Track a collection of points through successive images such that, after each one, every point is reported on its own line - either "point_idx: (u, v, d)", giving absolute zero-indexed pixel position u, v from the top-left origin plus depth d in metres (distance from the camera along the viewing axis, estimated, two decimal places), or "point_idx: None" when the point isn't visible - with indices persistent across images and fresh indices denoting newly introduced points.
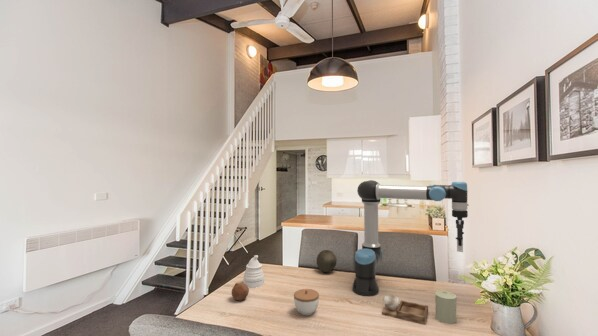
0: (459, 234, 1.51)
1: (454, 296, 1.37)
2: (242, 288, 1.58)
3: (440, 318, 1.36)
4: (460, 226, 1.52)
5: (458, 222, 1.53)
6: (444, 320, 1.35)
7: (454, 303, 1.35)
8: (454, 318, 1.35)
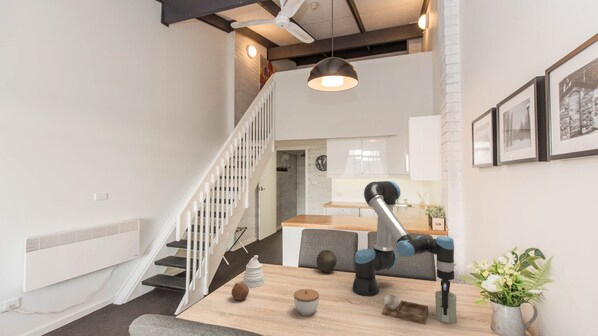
0: (444, 303, 1.32)
1: (454, 296, 1.37)
2: (242, 288, 1.58)
3: (440, 318, 1.36)
4: (445, 293, 1.33)
5: (443, 288, 1.33)
6: None
7: (454, 303, 1.35)
8: (454, 318, 1.35)
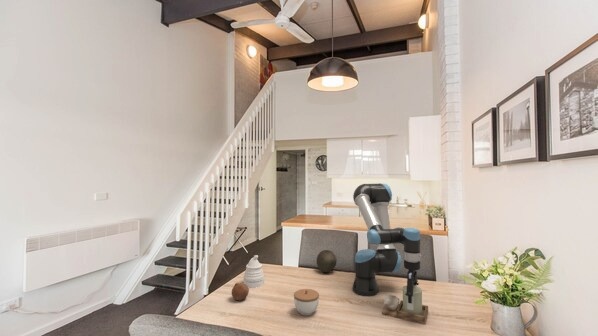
0: (408, 290, 1.34)
1: (420, 290, 1.41)
2: (242, 288, 1.58)
3: (407, 312, 1.40)
4: (410, 281, 1.36)
5: (408, 276, 1.37)
6: None
7: (419, 297, 1.39)
8: (419, 312, 1.39)
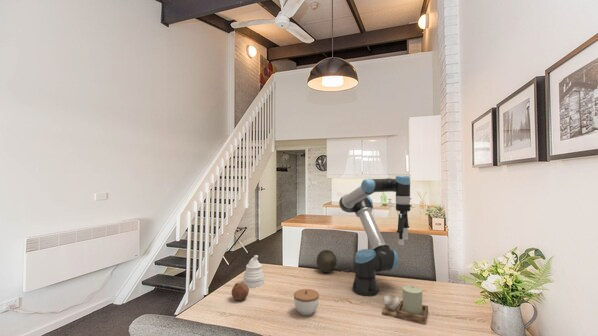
0: (399, 227, 1.51)
1: (420, 290, 1.40)
2: (242, 288, 1.58)
3: (407, 312, 1.40)
4: (401, 219, 1.52)
5: (399, 215, 1.53)
6: None
7: (420, 297, 1.39)
8: (419, 312, 1.39)
